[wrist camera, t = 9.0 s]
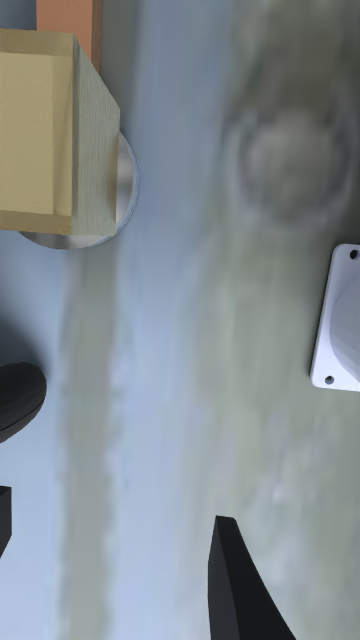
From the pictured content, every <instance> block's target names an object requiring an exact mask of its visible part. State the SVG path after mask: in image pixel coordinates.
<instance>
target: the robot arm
mask: <svg viewBox="0 0 360 640" xmlns="http://www.w3.org/2000/svg"><path fill="white" fill-rule="evenodd" d="M352 250H356V252H357V256H356V257H355V258H354V259H351V258H350V253H351V251H352ZM327 376H332V378H331V380H330V381H329V382H325V378H326V377H327ZM310 381H311V382H312V384H313V385H315V386H316V387H322V388H332V389H342V390H351V391H360V245H353V244H340V245H338V246H337V247H336V248H335V249H334V251H333V255H332V260H331V266H330V271H329V276H328V281H327V287H326V292H325V297H324V303H323V308H322V313H321V319H320V324H319V329H318V335H317V340H316V345H315V351H314V356H313V361H312V367H311V372H310ZM11 535H12V513H11V487H6V486H0V558H1V556H2V554H3V552H4V550H5V548H6V546H7V544H8V542H9V540H10V537H11ZM208 608H209V621H210V633H211V640H296V638H295V637H294V635H293V634H292V632H291V631H290V629H289V627H288V626H287V624H286V622H285V621H284V619H283V617H282V616H281V614H280V612H279V611H278V609H277V607H276V605H275V603H274V602H273V600H272V598H271V596H270V594H269V593H268V591H267V589H266V587H265V585H264V583H263V581H262V579H261V577H260V575H259V573H258V571H257V569H256V567H255V565H254V563H253V561H252V559H251V556H250V554H249V552H248V550H247V547H246V545H245V543H244V540H243V538H242V535H241V533H240V530H239V528H238V525H237V522H236V520H235V519H234V518H231V517H224V516H217V515H216V518H215V524H214V530H213V536H212V542H211V549H210V555H209V561H208Z"/></svg>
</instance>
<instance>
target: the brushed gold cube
mask: <svg viewBox="0 0 360 640" xmlns="http://www.w3.org/2000/svg"><path fill="white" fill-rule="evenodd" d="M119 124H120V108H119V107H118V105H117V103H116V102H115V100H114V99H113V97H112V95H111V94H110V92H109V90H108V89H107V87H106V86H105V84H104V82H103V81H102V79H101V78H100V76H99V74H98V73H97V71H96V70H95V68H94V66H93V65H92V63H91V61H90V60H89V58H88V57H87V55H86V53H85V52H84V50H83V49H82V47H81V45H80V44H79V42H78V40H77V39H76V37H75V36H74V34H73V33H67V32H51V31H36V30H21V29H6V28H0V229H3V230H15V231H27V232H38V233H50V234H62V235H82V236H115V232H116V204H117V177H118V150H119Z"/></svg>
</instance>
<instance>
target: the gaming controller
mask: <svg viewBox="0 0 360 640" xmlns="http://www.w3.org/2000/svg"><path fill="white" fill-rule="evenodd" d="M46 388H47V385H46V379H45V377H44V375H43V372H42V371H41V370H40V369H39V368H38V367H36V366H34V365H32V364H29V363H25V362H24V363H13V364H9V365H6V366H3V367H0V443H2V442H4V441H6V440H7V439H8V438H10V437H11V436H13V435H14V434H16V433H17V432H18V431H20V430H21V429H23V428H24V427H25V426H26V425H27V424H28V423H29V422H30V421H31V420H32V419H33V418H34V417H35V416H36V415H37V413H38V412H39V411H40V409H41V407H42V405H43V403H44V399H45V396H46Z"/></svg>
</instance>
